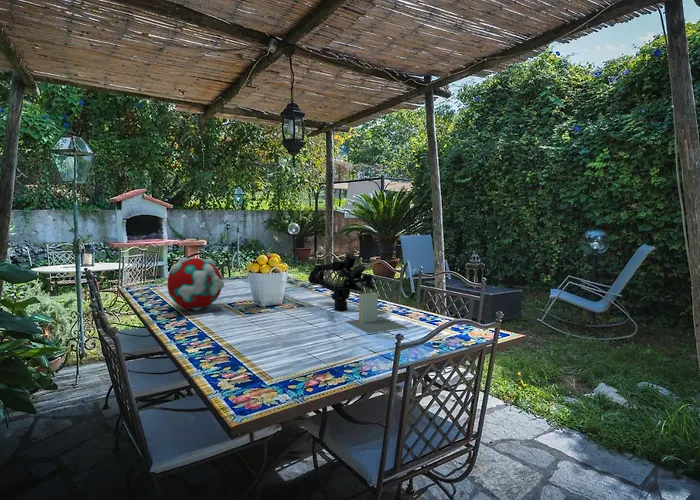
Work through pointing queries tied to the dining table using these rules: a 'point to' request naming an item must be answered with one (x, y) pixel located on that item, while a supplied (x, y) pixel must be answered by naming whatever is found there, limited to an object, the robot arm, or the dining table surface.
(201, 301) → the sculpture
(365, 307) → the tile
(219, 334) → the dining table surface
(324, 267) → the robot arm
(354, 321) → the mat
